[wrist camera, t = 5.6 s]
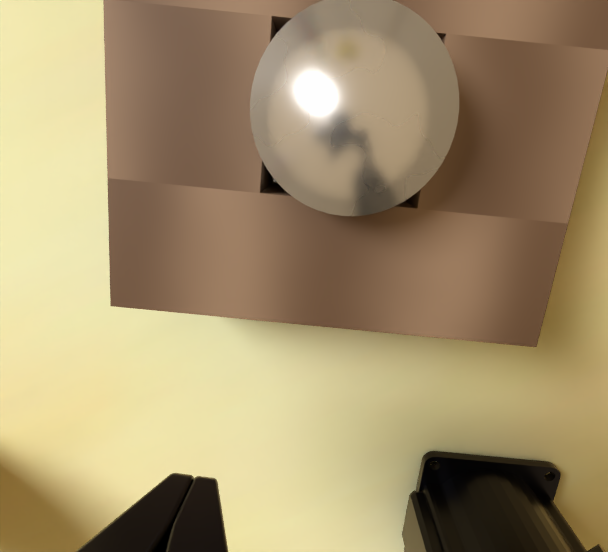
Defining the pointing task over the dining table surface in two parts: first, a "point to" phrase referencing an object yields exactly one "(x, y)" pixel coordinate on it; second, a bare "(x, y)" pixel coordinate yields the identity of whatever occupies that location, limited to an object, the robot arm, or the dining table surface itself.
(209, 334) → the dining table surface
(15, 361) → the dining table surface
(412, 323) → the brown flat block
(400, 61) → the knob steel
